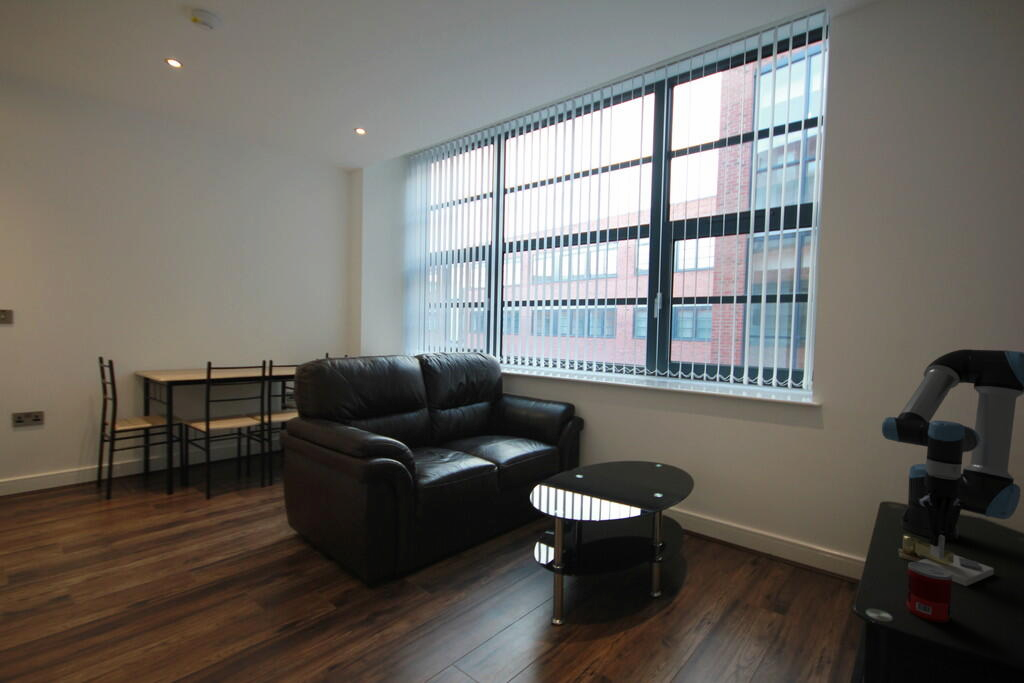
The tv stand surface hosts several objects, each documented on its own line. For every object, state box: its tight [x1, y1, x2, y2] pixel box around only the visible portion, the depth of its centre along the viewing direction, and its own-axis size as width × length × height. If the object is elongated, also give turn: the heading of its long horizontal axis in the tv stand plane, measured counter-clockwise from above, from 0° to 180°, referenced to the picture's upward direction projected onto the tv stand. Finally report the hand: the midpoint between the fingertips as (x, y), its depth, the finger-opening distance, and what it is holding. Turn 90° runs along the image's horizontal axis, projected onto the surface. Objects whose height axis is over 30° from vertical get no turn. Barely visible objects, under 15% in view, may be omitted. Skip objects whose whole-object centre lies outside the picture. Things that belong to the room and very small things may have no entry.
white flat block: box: [918, 554, 995, 587], centre depth 137 cm, size 16×11×3 cm
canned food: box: [906, 561, 953, 624], centre depth 115 cm, size 8×8×11 cm
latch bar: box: [902, 534, 955, 565], centre depth 141 cm, size 12×4×5 cm, turn 21°
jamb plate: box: [898, 548, 923, 562], centre depth 145 cm, size 5×5×1 cm
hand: (936, 556), depth 137 cm, fingers closed
